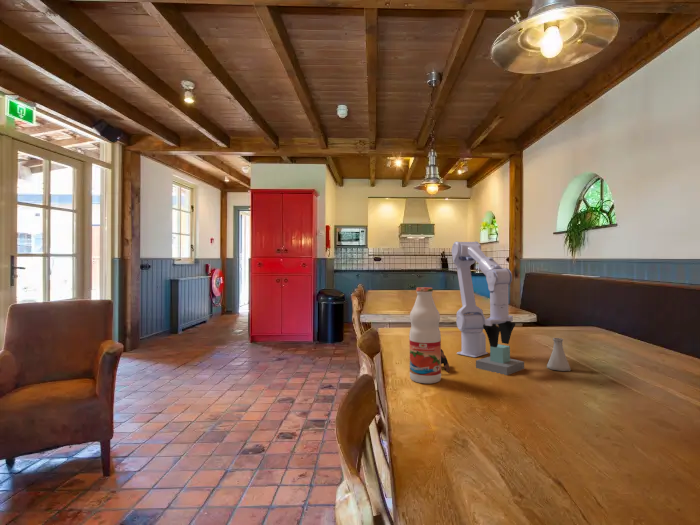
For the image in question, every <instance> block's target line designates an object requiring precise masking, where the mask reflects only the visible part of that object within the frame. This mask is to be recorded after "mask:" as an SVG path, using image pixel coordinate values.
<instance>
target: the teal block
mask: <svg viewBox="0 0 700 525" xmlns="http://www.w3.org/2000/svg"><path fill="white" fill-rule="evenodd" d="M489 349H490V351H489V357H490V361H494V362H498V363H506V362H509V361H510V359H511V347H510V345H507V344H506V345H505V344H501V343H500V344H499V343H498V346H497V347H491V346H490V345H489Z"/></svg>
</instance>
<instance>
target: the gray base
mask: <svg viewBox="0 0 700 525" xmlns="http://www.w3.org/2000/svg"><path fill="white" fill-rule="evenodd" d="M475 368H476V369H480V370H483V371H487V372H491V373H495V372H496V374H499V373H500V375H503V374H504V376H509V375H512V374H514V373H518V372H520V371H523V370H525V361H523V360H519V359H514V358H510V361H509V362H506V363H498V362H494V361H490V356H487V357H486V356H485V357H484V358H479V359H477V360H475ZM522 369H523V370H522Z"/></svg>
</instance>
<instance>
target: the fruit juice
mask: <svg viewBox="0 0 700 525" xmlns="http://www.w3.org/2000/svg"><path fill="white" fill-rule="evenodd" d="M415 291H416V294H417V296H416V297H415V302H414V304H413V306H412V308H411V310H410V312H409V322H410V324H411V327H410V328H409V336H408V337H409V339H408V340H409V341H408V342H409V378H410V379H411V381H413V382H416V383H419V384H435V383H439V382H440V381H441V379H442V364H441V349H442V343H441V342H442V340H441V339H442V336H441V330H440V327H439V325H440V324H439V323H440V321H441V314H440V312H439V310H438V308H437V306H436V304H435V301H434V298H433V287H430V286H429V287H427V286H426V287H425V286H423V287H421V286H420V287H418V286H417V287H416V289H415Z"/></svg>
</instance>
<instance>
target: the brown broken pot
mask: <svg viewBox="0 0 700 525" xmlns="http://www.w3.org/2000/svg"><path fill="white" fill-rule="evenodd" d="M444 353H445V352H444V350H443V349H442V348H441V365H443V368H444V369H445V371H446V373H448V372H450V370H451V369H450V368H451V367H450V365H449V362H448V359H447V357H446V355H445V354H444Z"/></svg>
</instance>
